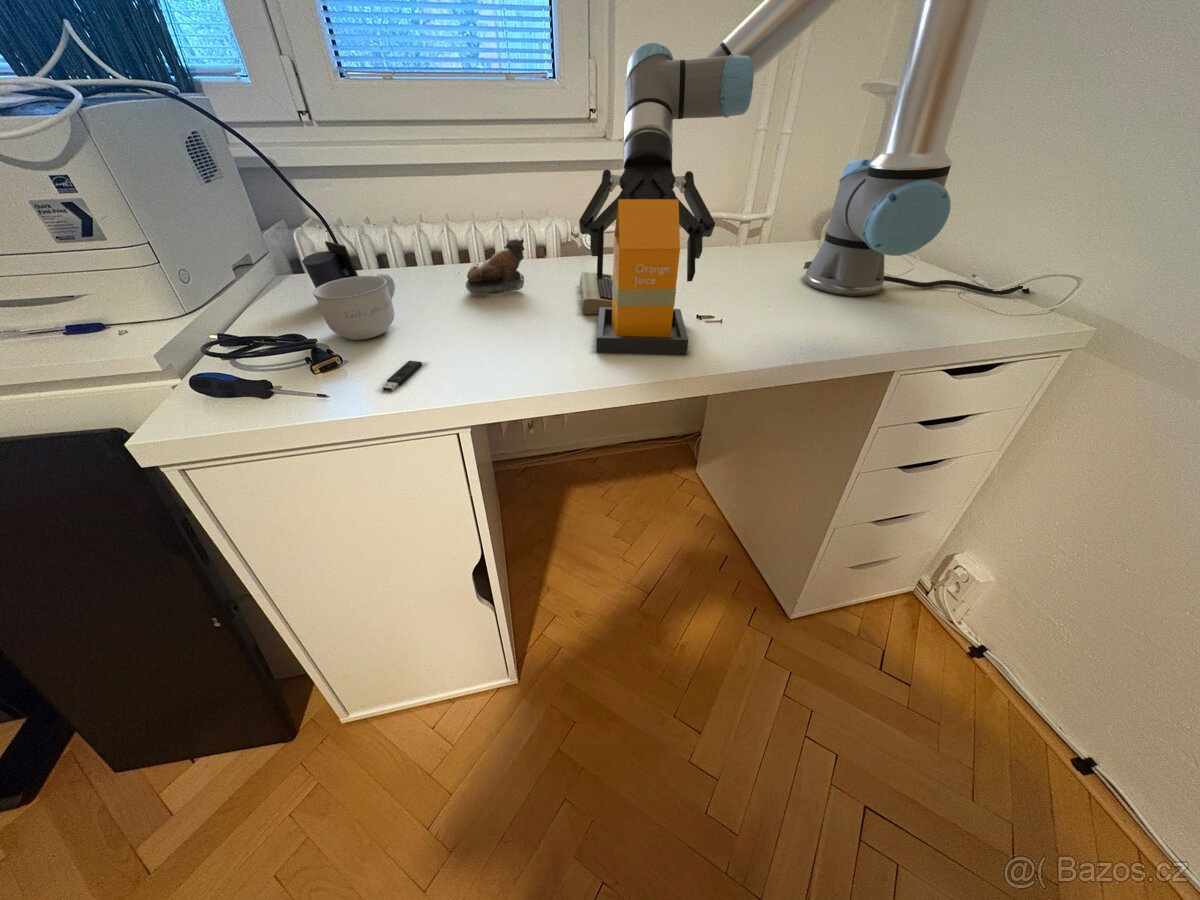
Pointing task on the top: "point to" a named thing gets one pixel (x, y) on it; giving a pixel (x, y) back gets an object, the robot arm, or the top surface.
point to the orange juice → (645, 267)
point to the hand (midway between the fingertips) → (645, 276)
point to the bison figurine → (498, 271)
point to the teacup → (357, 305)
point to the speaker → (329, 264)
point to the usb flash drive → (402, 375)
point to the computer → (595, 292)
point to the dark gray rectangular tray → (640, 338)
